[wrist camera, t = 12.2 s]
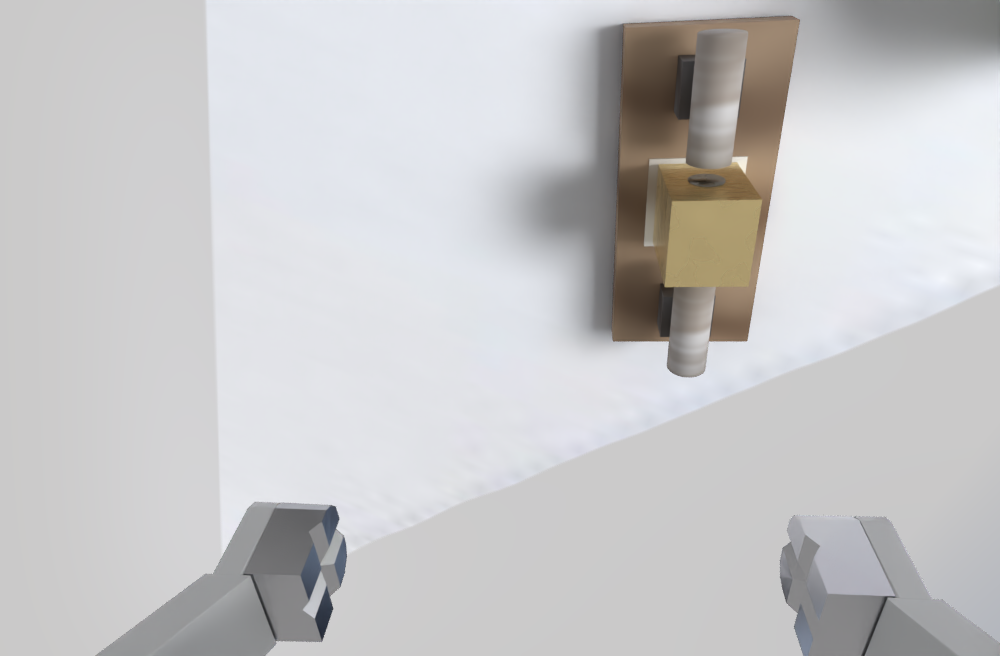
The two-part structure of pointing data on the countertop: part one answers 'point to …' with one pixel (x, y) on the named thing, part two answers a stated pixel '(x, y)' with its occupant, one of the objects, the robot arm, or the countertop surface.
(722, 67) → the shaft mount
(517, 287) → the countertop surface
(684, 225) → the block
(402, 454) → the countertop surface
